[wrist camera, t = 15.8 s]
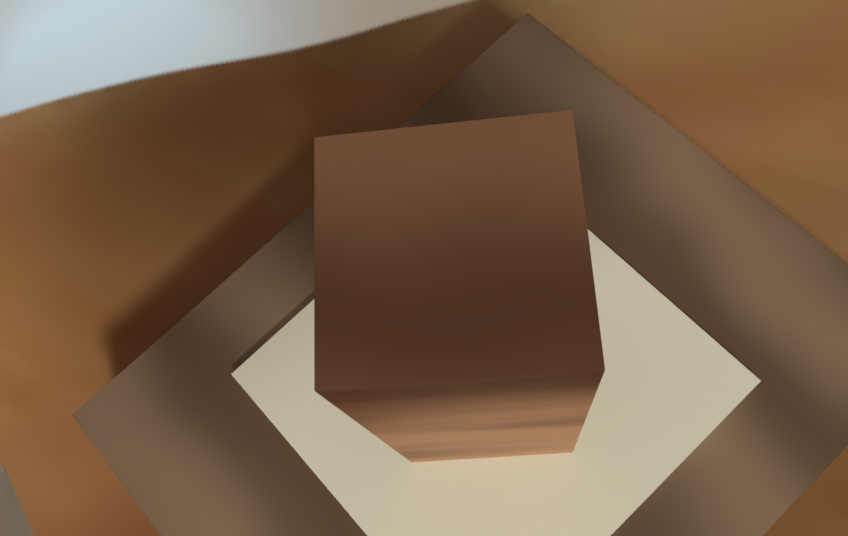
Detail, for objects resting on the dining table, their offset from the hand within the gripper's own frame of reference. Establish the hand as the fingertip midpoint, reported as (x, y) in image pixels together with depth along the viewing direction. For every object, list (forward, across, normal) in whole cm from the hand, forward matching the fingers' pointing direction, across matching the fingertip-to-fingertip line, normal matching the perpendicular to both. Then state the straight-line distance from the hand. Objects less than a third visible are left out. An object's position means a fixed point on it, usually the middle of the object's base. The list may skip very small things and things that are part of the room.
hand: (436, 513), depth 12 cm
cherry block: (+13, 0, -6) cm, 14 cm away
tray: (+16, 0, -9) cm, 18 cm away
